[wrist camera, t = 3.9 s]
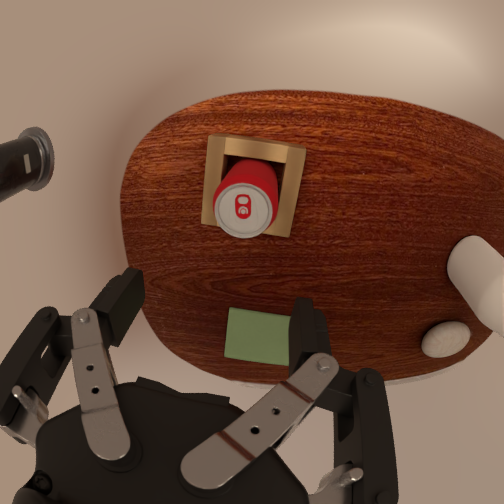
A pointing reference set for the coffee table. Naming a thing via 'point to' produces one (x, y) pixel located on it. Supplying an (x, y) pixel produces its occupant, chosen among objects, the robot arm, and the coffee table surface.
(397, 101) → the coffee table surface
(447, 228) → the coffee table surface
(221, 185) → the beverage can
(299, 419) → the robot arm
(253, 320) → the pad
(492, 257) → the wine bottle
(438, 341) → the decorative stone
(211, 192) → the stand
